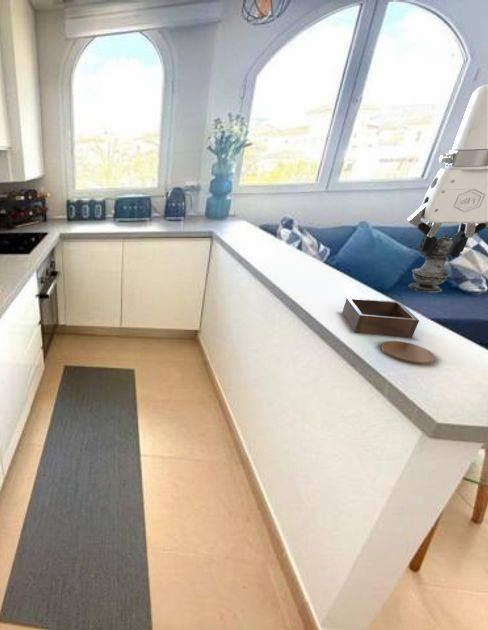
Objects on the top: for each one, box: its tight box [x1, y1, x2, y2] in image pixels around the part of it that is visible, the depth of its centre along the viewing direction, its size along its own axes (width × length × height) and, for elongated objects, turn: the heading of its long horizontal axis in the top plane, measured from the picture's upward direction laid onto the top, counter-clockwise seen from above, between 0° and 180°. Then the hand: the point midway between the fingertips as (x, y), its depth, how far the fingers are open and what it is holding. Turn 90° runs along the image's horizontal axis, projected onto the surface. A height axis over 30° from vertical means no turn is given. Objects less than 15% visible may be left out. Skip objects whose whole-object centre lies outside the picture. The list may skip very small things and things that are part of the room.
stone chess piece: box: [407, 233, 453, 294], centre depth 73 cm, size 6×6×12 cm
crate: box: [341, 297, 420, 339], centre depth 91 cm, size 12×12×5 cm
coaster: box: [380, 340, 436, 365], centre depth 79 cm, size 9×9×1 cm
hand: (438, 254), depth 72 cm, fingers closed on stone chess piece, 3 cm apart
